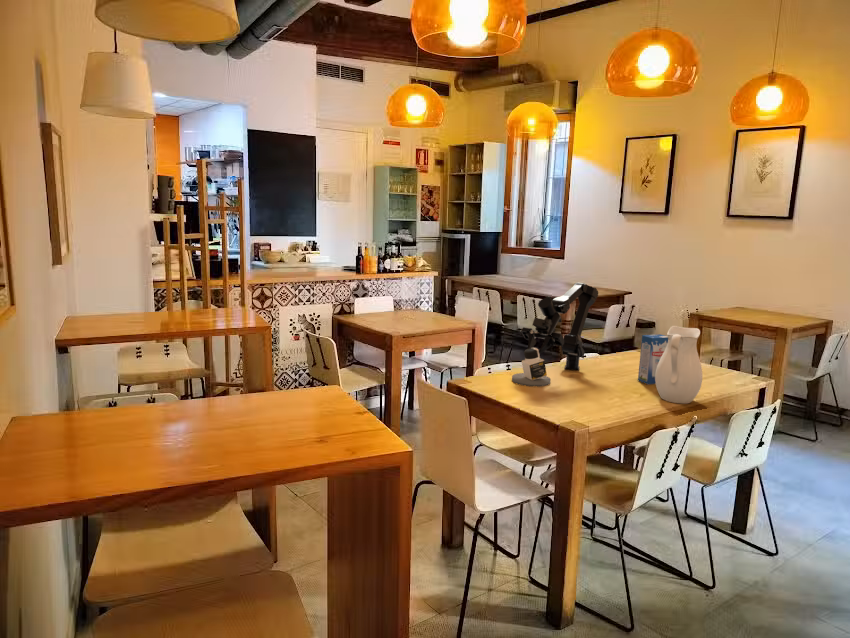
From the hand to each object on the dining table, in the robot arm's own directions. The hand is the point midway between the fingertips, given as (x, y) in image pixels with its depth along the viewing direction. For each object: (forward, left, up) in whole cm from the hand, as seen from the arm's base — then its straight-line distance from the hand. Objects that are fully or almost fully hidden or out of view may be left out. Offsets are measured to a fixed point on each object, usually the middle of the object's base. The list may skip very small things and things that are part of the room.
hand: (533, 351), depth 262 cm
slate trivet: (0, 0, -13) cm, 13 cm away
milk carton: (-20, +49, -13) cm, 55 cm away
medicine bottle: (0, +1, -10) cm, 10 cm away
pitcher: (+8, +55, -13) cm, 57 cm away
